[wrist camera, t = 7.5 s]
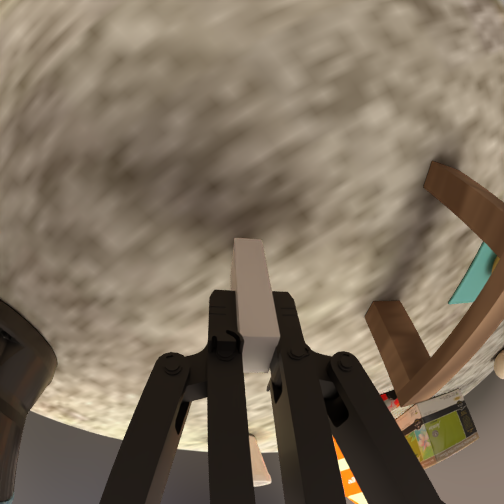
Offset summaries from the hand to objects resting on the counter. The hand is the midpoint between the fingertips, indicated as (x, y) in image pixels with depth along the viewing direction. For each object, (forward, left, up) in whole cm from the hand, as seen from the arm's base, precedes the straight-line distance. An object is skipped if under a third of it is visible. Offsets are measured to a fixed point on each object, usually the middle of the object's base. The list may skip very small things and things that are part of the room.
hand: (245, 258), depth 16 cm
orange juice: (+28, -45, -2) cm, 53 cm away
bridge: (+13, 0, -2) cm, 13 cm away
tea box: (+45, -40, -2) cm, 60 cm away
